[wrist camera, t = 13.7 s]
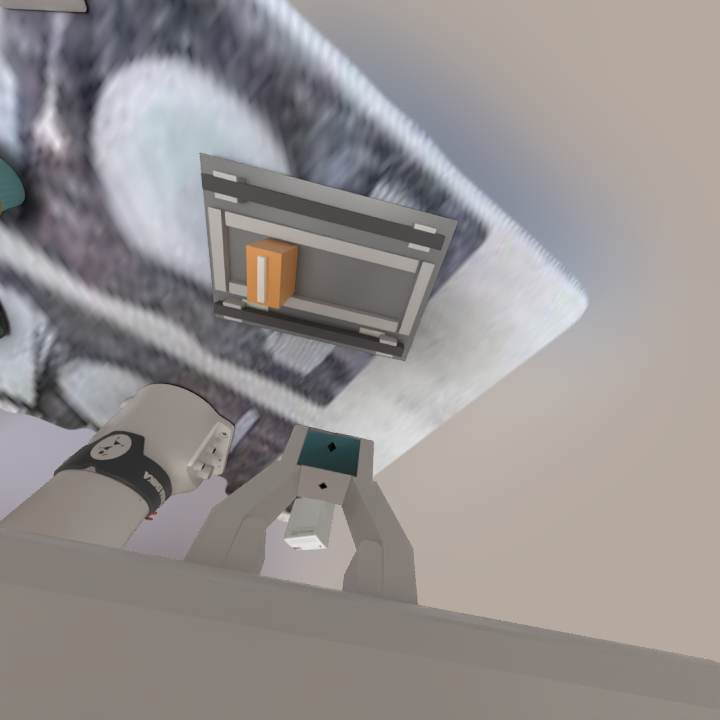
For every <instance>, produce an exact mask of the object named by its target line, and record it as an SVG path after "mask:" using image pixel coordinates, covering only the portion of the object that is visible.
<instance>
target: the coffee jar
mask: <svg viewBox="0 0 720 720" xmlns="http://www.w3.org/2000/svg"><path fill="white" fill-rule="evenodd" d="M5 334H6V326H5V322H4V319H3V316H2V314H1V311H0V338H2V337H3V336H4V335H5Z"/></svg>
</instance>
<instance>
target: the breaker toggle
mask: <svg viewBox="0 0 720 720" xmlns="http://www.w3.org/2000/svg"><path fill="white" fill-rule="evenodd" d="M298 246H299V245H295V244H291V243H287V242H283V241H279V240H275V239H271V238H267V239H264V240H261V241H258V242H255V243H252V244H249V245H246V259H247V302H252V303H256V304H260V305H264V306H268V307H273V308H277V309H279V308H280V307H281V306H282V305H283V304H284V303H285V302H286V301H287V300H288V299H289V298H290V297H291V296H292V295H293V294H294V293H295V282H296V270H297V258H298Z"/></svg>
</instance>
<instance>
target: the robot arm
mask: <svg viewBox="0 0 720 720" xmlns="http://www.w3.org/2000/svg"><path fill="white" fill-rule="evenodd" d="M233 433H234V426H233V425H232V424H231V423H230V422H229V421H227V420H226V419H224V418H222V417H221V416H219V415H218V414H217V413H216V412H215V410H214V409H213V408H212V407H211V406H210V405H209V404H208V403H207V402H205V401H204V400H203V399H202V398H200V397H199V396H197V395H195V394H194V393H192V392H190V391H188V390H185V389H183V388H180V387H177V386H173V385H168V384H151V385H148V386H145V387H143V388H142V389H141V390H140V391H139V392H138V393H137V394H136V396H135V397H134V398H131V399H128V400H125V401H124V402H123V403H122V404H121V405H120V411H119V412H118V413H117V414H116V415H115V416H114V417H113V418H112V419H110V420H109V421H108V422H107V423H106V424H105V425H104V426H103V427H102V428H101V429H100V430H99V431H98V432H97V433H96V434H95V435H94V436H93V437H92V438H91V439H90V440H89V442H88V445H86V446H84V447H82V448H81V449H80V450H79V451H78V452H76V453H75V454H74V455H73V456H70V457H69V458H68V459H67V460H65V462H64V463H63V464H62V465H61V466H60V467H59V468H58V469H57V470H56V471H55V472H54V477H53V478H52V479H50V480H49V481H48V482H47V483H46V484H44V485H43V486H42V487H41V488H40V489H38V490H37V491H36V492H35V493H34V494H32V495H31V496H30V497H29V498H28V499H26V500H25V501H24V502H23V503H22V504H20V505H19V506H18V507H17V508H16V509H14V510H13V511H12V512H11V513H10V514H8V515H7V516H6V517H5V518H4V519H2V520H1V521H0V720H720V663H718V662H715V661H712V660H708V659H703V658H697V657H693V656H687V655H682V654H676V653H671V652H666V651H660V650H655V649H650V648H645V647H639V646H634V645H629V644H623V643H618V642H613V641H607V640H602V639H596V638H591V637H586V636H581V635H575V634H570V633H564V632H559V631H554V630H549V629H543V628H538V627H533V626H528V625H522V624H517V623H511V622H506V621H501V620H496V619H490V618H484V617H480V616H474V615H469V614H464V613H458V612H453V611H448V610H442V609H437V608H432V607H426V606H421V605H418V603H417V590H416V579H415V566H414V554H413V547H412V545H411V544H410V542H409V540H408V538H407V536H406V535H405V533H404V531H403V529H402V527H401V526H400V524H399V522H398V520H397V518H396V516H395V515H394V513H393V511H392V509H391V507H390V505H389V504H388V502H387V500H386V498H385V496H384V495H383V493H382V491H381V489H380V487H379V485H378V484H377V482H376V481H372V477H373V452H374V442H373V441H372V440H367V439H363V438H359V437H354V436H349V435H344V434H339V433H333V432H329V431H325V430H321V429H316V428H312V427H308V426H303V425H299V424H296V425H295V427H294V429H293V431H292V434H291V436H290V439H289V441H288V444H287V446H286V449H285V451H284V454H283V456H282V459H281V461H275V462H274V463H272V464H271V465H270V466H268V467H267V468H266V469H264V470H263V471H262V472H260V473H259V474H257V475H256V476H255V477H253V478H252V479H251V480H249V481H248V482H247V483H245V484H244V485H243V486H241V487H240V488H239V489H237V490H236V491H235V492H233V493H232V494H231V495H229V496H228V497H227V498H225V499H224V500H223V501H221V502H220V503H219V504H217V505H216V506H215V507H213V508H212V510H211V512H210V514H209V515H208V517H207V519H206V521H205V523H204V525H203V526H202V528H201V530H200V531H199V533H198V535H197V537H196V538H195V540H194V542H193V544H192V546H191V547H190V549H189V551H188V553H187V555H186V556H185V558H184V560H183V561H182V560H176V559H171V558H166V557H160V556H155V555H150V554H144V553H139V552H134V551H128V550H123V549H122V548H123V547H124V546H125V544H126V543H127V541H128V540H129V539H130V537H131V536H132V535H133V533H134V532H135V531H136V529H137V528H138V527H139V525H140V524H141V523H142V521H143V520H144V519H147V520H153V519H152V518H150V517H148V516H150V515H155V514H157V512H155V510H156V509H158V508H160V507H161V506H162V505H163V503H164V502H165V501H166V500H167V499H168V498H169V497H170V496H172V495H177V494H181V493H187V492H191V491H194V490H195V489H197V488H198V486H199V485H200V484H201V483H202V481H203V480H204V479H205V480H208V479H209V478H210V477H211V475H219V474H222V473H223V471H224V470H225V467H226V463H227V459H228V454H229V450H230V446H231V442H232V438H233ZM296 496H299V497H305V498H310V499H316V500H321V501H325V502H330V503H334V504H338V505H342V508H343V511H344V514H345V517H346V520H347V523H348V526H349V529H350V532H351V534H352V538H353V541H354V543H355V546H356V549H357V551H356V552H355V555H354V556H353V558H352V560H351V562H350V564H349V566H348V569H347V570H346V572H345V574H344V581H343V589H342V591H341V590H336V589H331V588H325V587H320V586H315V585H309V584H304V583H298V582H293V581H288V580H282V579H277V578H272V577H267V576H261V575H260V572H261V569H262V566H263V563H264V559H265V540H266V529H267V527H268V526H269V525H270V524H271V523H272V522H273V521H274V520H275V519H276V518H277V517H278V516H279V515H280V514H281V513H282V512H283V511H284V510H285V509H286V508H287V506H288V505H289V504H290V503H291V502H292V501H293V500H294V499H295V498H296Z"/></svg>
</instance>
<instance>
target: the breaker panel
mask: <svg viewBox="0 0 720 720" xmlns="http://www.w3.org/2000/svg"><path fill="white" fill-rule="evenodd" d="M200 161H201V172H202V173H205V174H211V175H213V176H215V177H219V178H223V179H227V180H231V181H234V182H240V183H245V184H249V185H253V186H257V187H260V188H264V189H268V190H272V191H276V192H280V193H283V194H287V195H291V196H295V197H299V198H302V199H306V200H310V201H314V202H318V203H322V204H325V205H329V206H333V207H337V208H341V209H345V210H348V211H352V212H356V213H360V214H364V215H368V216H371V217H375V218H379V219H383V220H387V221H390V222H394V223H398V224H402V225H406V226H410V227H413V228H414V229H418V230H422V231H426V232H430V233H433V234H435V233H436V234H440V235H444V236H445V237H446V238H445V240H444V243H443V246H442V248H441V251H440V250H436V249H432V248H428V247H424V246H420V245H417V244H413V243H409V242H405V241H401V240H397V239H393V238H389V237H386V236H382V235H378V234H374V233H370V232H366V231H362V230H358V229H355V228H351V227H347V226H343V225H339V224H335V223H331V222H327V221H324V220H320V219H316V218H312V217H308V216H304V215H300V214H297V213H293V212H289V211H285V210H281V209H277V208H273V207H269V206H266V205H262V204H258V203H254V202H250V201H246V200H242V199H238V198H235V197H231V196H227V195H223V194H219V193H215V192H211V191H207V190H204V189H203V193H204V203H205V214H206V225H207V235H208V246H209V256H210V267H211V278H212V288H213V299H214V303H215V302H217V301H219V300H222V301H224V302H223V305H224V306H228V307H232V308H236V309H242V308H244V307H245V306H247V307H251V308H255V309H260V310H264V311H268V312H272V313H276V314H281V315H285V316H289V317H293V318H297V319H302V320H306V321H310V322H314V323H318V324H323V325H327V326H331V327H335V328H339V329H344V330H348V331H352V332H356V333H361V334H365V335H369V336H373V337H377V338H379V342H380V343H384V344H388V345H393V346H396V345H397V342H398V343H403V344H404V348H405V349H404V352H403V354H402V357H398V356H394V355H389V354H385V353H381V352H377V351H372V350H368V349H364V348H360V347H355V346H351V345H347V344H343V343H338V342H334V341H330V340H326V339H321V338H317V337H313V336H309V335H304V334H300V333H296V332H292V331H287V330H283V329H279V328H274V327H270V326H266V325H262V324H257V323H253V322H249V321H245V320H240V319H236V318H232V317H228V316H223V315H219V314H215V317H218V318H223V319H227V320H231V321H235V322H240V323H244V324H248V325H252V326H257V327H261V328H265V329H269V330H274V331H278V332H282V333H287V334H291V335H295V336H299V337H304V338H308V339H312V340H316V341H321V342H325V343H329V344H333V345H338V346H342V347H346V348H351V349H355V350H359V351H363V352H368V353H372V354H376V355H380V356H385V357H389V358H393V359H397V360H402V361H405V360H406V357H407V354H408V352H409V349H410V347H411V344H412V341H413V339H414V336H415V333H416V331H417V328H418V326H419V323H420V320H421V318H422V315H423V312H424V310H425V307H426V305H427V302H428V299H429V297H430V294H431V291H432V289H433V286H434V284H435V281H436V278H437V276H438V273H439V270H440V268H441V265H442V263H443V260H444V257H445V255H446V252H447V249H448V247H449V244H450V242H451V239H452V236H453V234H454V231H455V228H456V226H457V223H458V221H456V220H452V219H449V218H445V217H441V216H437V215H433V214H430V213H426V212H422V211H418V210H415V209H411V208H407V207H403V206H399V205H396V204H392V203H388V202H384V201H381V200H377V199H373V198H369V197H366V196H362V195H358V194H354V193H350V192H347V191H343V190H339V189H335V188H332V187H328V186H324V185H320V184H316V183H313V182H309V181H305V180H301V179H298V178H294V177H290V176H286V175H283V174H279V173H275V172H271V171H267V170H264V169H260V168H256V167H252V166H249V165H245V164H241V163H237V162H233V161H230V160H226V159H222V158H218V157H215V156H211V155H207V154H203V153H200ZM267 238H271V239H275V240H279V241H283V242H287V243H291V244H295V245H299V246H298V258H297V270H296V282H295V293H294V294H293V295H292V296H291V297H290V298H289V299H288V300H287V301H286V302H285V303H284V304H283V305H282V306H281V307H280V308H279V309H277V308H273V307H268V306H264V305H260V304H256V303H252V302H247V259H246V245H249V244H252V243H255V242H258V241H261V240H264V239H267Z"/></svg>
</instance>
